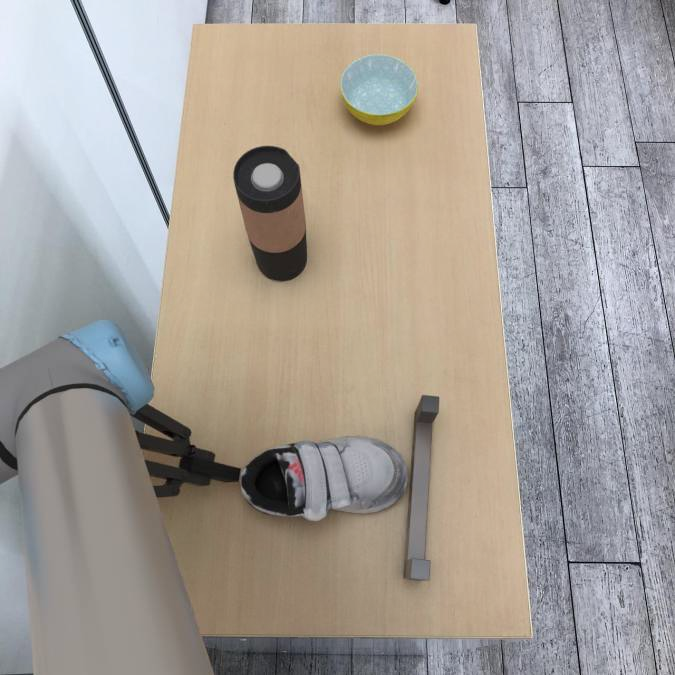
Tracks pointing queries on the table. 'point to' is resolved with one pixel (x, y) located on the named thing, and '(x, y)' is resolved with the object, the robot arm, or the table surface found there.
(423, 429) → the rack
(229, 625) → the table surface
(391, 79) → the bowl
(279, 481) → the sneaker
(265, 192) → the travel mug
